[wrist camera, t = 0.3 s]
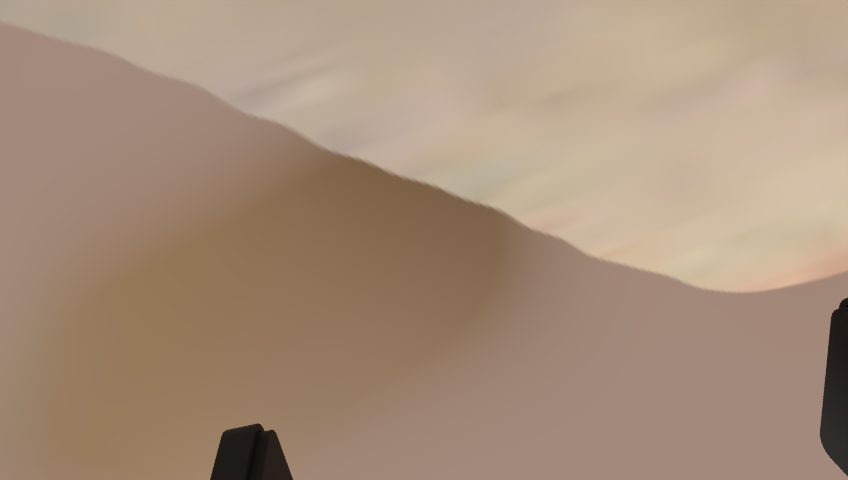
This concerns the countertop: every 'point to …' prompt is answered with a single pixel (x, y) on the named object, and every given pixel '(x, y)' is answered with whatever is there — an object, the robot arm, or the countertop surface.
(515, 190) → the countertop surface
